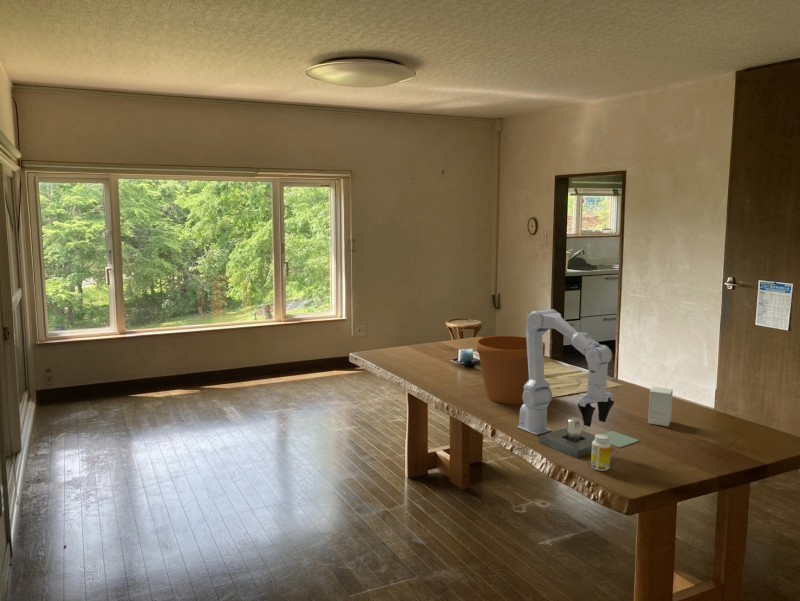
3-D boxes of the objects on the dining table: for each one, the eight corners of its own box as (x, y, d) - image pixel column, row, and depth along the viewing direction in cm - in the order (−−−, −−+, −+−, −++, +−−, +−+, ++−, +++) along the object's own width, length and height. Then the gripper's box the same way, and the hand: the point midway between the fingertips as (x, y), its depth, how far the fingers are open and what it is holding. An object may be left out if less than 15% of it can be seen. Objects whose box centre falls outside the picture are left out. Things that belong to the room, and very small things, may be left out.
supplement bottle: (612, 467, 193) (614, 436, 191) (604, 473, 189) (606, 440, 187) (595, 462, 197) (597, 431, 195) (587, 467, 193) (589, 436, 191)
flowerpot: (548, 392, 271) (551, 339, 267) (534, 411, 245) (536, 353, 242) (486, 384, 282) (488, 333, 279) (466, 401, 257) (467, 346, 254)
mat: (592, 438, 217) (592, 437, 217) (612, 431, 224) (612, 430, 224) (619, 448, 209) (619, 447, 208) (639, 441, 215) (639, 440, 215)
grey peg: (563, 444, 212) (565, 418, 210) (572, 441, 214) (573, 416, 213) (574, 448, 208) (575, 422, 207) (583, 445, 211) (584, 420, 209)
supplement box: (671, 421, 235) (673, 388, 234) (668, 427, 229) (670, 393, 227) (650, 417, 239) (652, 385, 237) (647, 423, 233) (649, 390, 231)
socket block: (539, 442, 213) (539, 435, 213) (570, 433, 222) (570, 426, 222) (576, 458, 200) (577, 450, 200) (608, 447, 209) (608, 440, 209)
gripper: (592, 389, 194) (590, 431, 196) (621, 382, 202) (619, 422, 204) (574, 384, 199) (572, 424, 201) (603, 377, 208) (601, 416, 210)
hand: (594, 423), depth 203 cm, fingers open, 7 cm apart
